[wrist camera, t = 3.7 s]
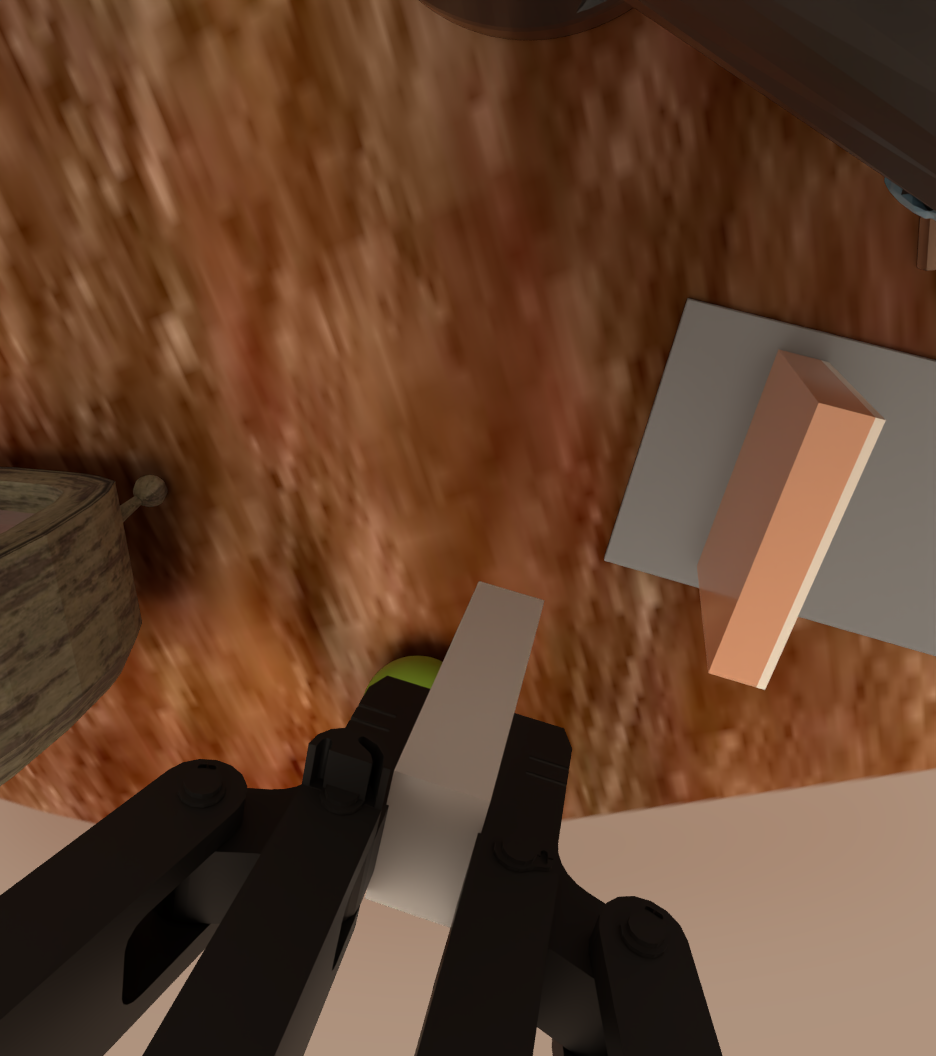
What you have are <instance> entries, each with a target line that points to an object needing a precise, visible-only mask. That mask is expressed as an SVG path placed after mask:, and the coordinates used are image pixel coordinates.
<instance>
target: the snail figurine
mask: <svg viewBox="0 0 936 1056" xmlns="http://www.w3.org/2000/svg"><path fill="white" fill-rule="evenodd" d="M442 663H443V662H442V661H440V660H437V659H435V658H432V657H427V656H407V657H403V658H399V659H397V660H394V661H392V662H391V663H389V664H387V665H386V666H384V667H383V668H382V669H381V670H380V671H379V672H377V674H376V675H375V676H374V677H373V678H372V680H371V681H370V683H369V685H368V687H369V686H371V685H373V684H374V683H376V682H377V681H379V680H381V679H382V678H384V677H386V676H387V675H388V676H391V677H394V678H397V679H401V680H404V681H407V682H410V683H413V684H417V685H420V686H423V687H426V688H429V689H431V687H432V685H433V683H434V681H435V678H436V676H437V674H438V672H439V669H440V667H441V665H442ZM368 687H367V689H368ZM367 689H366V691H367ZM366 691H365V693H366Z"/></svg>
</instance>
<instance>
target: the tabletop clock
mask: <svg viewBox="0 0 936 1056" xmlns="http://www.w3.org/2000/svg"><path fill="white" fill-rule="evenodd" d="M167 492H168V491H167V486H166V484H165V482H164V481H163V480H162V479H161V478H160V477H158V476H155V475H146V476H143V477H140V478H139V479H138V480H137V481H136V483H135V486H134V488H133V495H134V497H132V498H131V499H129V500H128V501H126V502H125V503H123V504H122V505H120V504H119V499H118V494H117V488H116V483H115V481H114V480H110V479H107V478H104V477H100V476H96V475H90V474H84V473H74V472H64V471H52V470H41V469H29V468H17V467H0V786H1V785H2V784H4V783H5V782H7V781H8V780H9V779H11V778H12V777H13V776H15V775H16V774H17V773H18V772H19V771H20V770H22V769H23V768H24V767H25V766H26V765H27V764H29V763H30V762H31V761H32V760H33V759H35V758H36V757H37V756H38V755H39V754H40V753H42V752H43V751H44V750H45V749H46V748H47V747H49V746H50V745H51V744H52V743H53V742H54V741H56V740H57V739H58V738H59V737H60V736H62V735H63V734H64V733H65V732H66V731H67V730H69V729H70V728H71V727H72V726H73V725H74V724H75V723H76V722H77V721H78V720H79V718H80V717H81V716H82V715H83V714H84V713H85V712H86V711H87V710H88V709H89V708H90V707H91V706H92V705H93V704H94V703H95V702H96V701H97V700H98V699H99V698H100V697H101V696H102V695H103V694H104V693H105V692H106V691H107V690H108V689H109V688H110V687H111V686H112V684H113V683H114V682H115V681H116V679H117V678H118V676H119V675H120V674H121V672H122V670H123V667H124V665H125V663H126V661H127V658H128V656H129V654H130V652H131V649H132V647H133V645H134V643H135V640H136V638H137V635H138V633H139V630H140V627H141V624H142V620H141V615H140V609H139V604H138V599H137V594H136V588H135V583H134V578H133V573H132V567H131V562H130V557H129V552H128V546H127V541H126V536H125V530H124V525H123V522H124V521H125V520H126V519H127V518H128V517H129V516H130V515H131V514H132V513H133V512H134V511H135V510H136V509H137V508H138V507H139V506H140V505H143V506H146V507H154V506H158V505H160V504H161V503H162V502H163V501H164V499H165V497H166V495H167Z"/></svg>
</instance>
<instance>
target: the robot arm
mask: <svg viewBox="0 0 936 1056" xmlns="http://www.w3.org/2000/svg"><path fill="white" fill-rule="evenodd" d="M419 1H420V2H422V3H423V4H424V5H426V6H427V7H428V8H430V9H431V10H433V11H434V12H436V13H437V14H439V15H441V16H442V17H444V18H446V19H447V20H449V21H451V22H453V23H455V24H458V25H460V26H462V27H464V28H467V29H470V30H472V31H475V32H478V33H481V34H485V35H489V36H493V37H499V38H505V39H515V40H542V39H552V38H558V37H563V36H568V35H572V34H576V33H580V32H583V31H586V30H588V29H591V28H594V27H597V26H599V25H601V24H604V23H606V22H608V21H610V20H612V19H614V18H616V17H618V16H620V15H622V14H624V13H625V12H627V11H629V10H630V9H632V8H633V7H634V8H636V9H637V10H638V11H640V12H641V13H643V14H644V15H646V16H647V17H649V18H650V19H652V20H653V21H655V22H656V23H658V24H659V25H661V26H662V27H664V28H665V29H667V30H668V31H670V32H671V33H673V34H674V35H676V36H677V37H678V38H680V39H681V40H683V41H684V42H686V43H687V44H689V45H690V46H692V47H693V48H695V49H696V50H698V51H699V52H701V53H702V54H704V55H705V56H707V57H708V58H710V59H711V60H713V61H714V62H716V63H717V64H718V65H720V66H721V67H723V68H724V69H726V70H727V71H729V72H730V73H732V74H733V75H735V76H736V77H738V78H739V79H741V80H742V81H744V82H745V83H747V84H748V85H750V86H751V87H753V88H754V89H756V90H757V91H758V92H760V93H761V94H763V95H764V96H766V97H767V98H769V99H770V100H772V101H773V102H775V103H776V104H778V105H779V106H781V107H782V108H784V109H785V110H787V111H788V112H790V113H791V114H793V115H794V116H795V117H797V118H798V119H800V120H801V121H803V122H804V123H806V124H807V125H809V126H810V127H812V128H813V129H815V130H816V131H818V132H819V133H821V134H822V135H824V136H825V137H827V138H828V139H830V140H831V141H833V142H834V143H835V144H837V145H838V146H840V147H841V148H843V149H844V150H846V151H847V152H849V153H850V154H852V155H853V156H855V157H856V158H858V159H859V160H861V161H862V162H864V163H865V164H867V165H868V166H870V167H871V168H873V169H874V170H875V171H877V172H878V173H880V174H881V175H883V176H884V177H885V184H886V186H887V188H888V190H889V191H890V192H891V194H892V195H893V196H894V197H895V198H896V199H897V200H898V201H899V202H900V203H901V204H902V205H904V206H905V207H906V208H908V209H909V210H910V211H912V212H913V213H915V214H917V215H919V216H921V217H923V218H925V219H928V218H931V219H933V220H935V221H936V0H419ZM543 604H544V600H541V599H538V598H534V597H531V596H527V595H524V594H521V593H517V592H514V591H510V590H507V589H504V588H500V587H497V586H494V585H490V584H487V583H483V582H480V581H479V582H478V585H477V587H476V589H475V591H474V594H473V596H472V598H471V600H470V603H469V605H468V607H467V609H466V611H465V614H464V616H463V618H462V620H461V623H460V625H459V627H458V629H457V631H456V634H455V636H454V638H453V640H452V643H451V645H450V647H449V649H448V652H447V654H446V656H445V658H444V660H443V663H442V665H441V667H440V669H439V672H438V674H437V676H436V678H435V681H434V683H433V685H432V687H431V689H429V688H426V687H423V686H420V685H417V684H413V683H410V682H407V681H404V680H401V679H397V678H394V677H391V676H388V675H387V676H386V677H384V678H382V679H381V680H379V681H377V682H376V683H374V684H373V685H371V686H369V687H368V689H367V691H366V693H365V694H364V696H363V698H362V700H361V701H360V703H359V706H358V707H357V708H356V710H355V712H354V714H353V715H352V717H351V720H349V722H348V724H347V726H346V727H345V728H338V729H330V730H328V731H325V732H323V733H320V734H318V735H317V736H316V737H315V738H314V739H313V740H312V741H311V742H310V743H309V745H308V751H307V757H306V763H305V769H304V775H303V781H302V784H301V785H299V786H297V787H292V788H287V789H273V790H269V789H254V788H247V785H246V782H245V780H244V778H243V775H242V774H241V773H240V772H238V771H237V770H236V769H235V768H234V767H233V766H231V765H228V764H226V763H223V762H220V761H218V760H206V759H198V760H193V761H188V762H183V763H181V764H179V765H177V766H175V767H173V768H171V769H169V770H168V771H166V772H165V773H164V774H162V775H161V776H160V777H158V778H157V779H156V780H154V781H153V782H152V783H150V784H149V785H148V786H146V787H145V788H144V789H142V790H141V791H140V792H138V793H137V794H136V795H134V796H133V797H132V798H130V799H129V800H128V801H126V802H125V803H124V804H122V805H121V806H120V807H118V808H117V809H115V810H114V811H113V812H111V813H110V814H109V815H107V816H106V817H105V818H103V819H102V820H101V821H99V822H98V823H97V824H95V825H94V826H93V827H91V828H90V829H89V830H87V831H86V832H85V833H83V834H82V835H81V836H79V837H78V838H77V839H75V840H74V841H73V842H71V843H70V844H69V845H67V846H66V847H65V848H63V849H62V850H61V851H59V852H58V853H57V854H55V855H54V856H53V857H51V858H50V859H48V860H47V861H46V862H44V863H43V864H42V865H40V866H39V867H38V868H36V869H35V870H34V871H33V872H31V873H30V874H28V875H27V876H26V877H24V878H23V879H22V880H20V881H19V882H18V883H16V884H15V885H14V886H12V887H11V888H10V889H8V890H7V891H6V892H4V893H3V894H2V895H0V1056H103V1055H104V1054H105V1053H106V1052H107V1051H108V1050H109V1049H110V1048H111V1047H112V1046H113V1045H114V1044H115V1043H116V1042H117V1041H118V1040H119V1039H120V1038H121V1036H122V1035H123V1034H124V1033H125V1032H126V1031H127V1030H128V1029H129V1028H130V1027H131V1026H132V1025H133V1024H134V1023H135V1022H136V1021H137V1020H138V1019H139V1018H140V1017H141V1015H142V1014H143V1013H144V1012H145V1011H146V1010H147V1009H148V1008H149V1007H150V1006H151V1005H152V1004H153V1003H154V1002H155V1001H156V1000H157V999H158V997H159V996H160V995H161V994H162V993H163V992H164V991H165V990H166V989H167V988H168V987H169V986H170V985H171V984H172V983H173V981H175V980H176V979H177V977H179V975H180V974H181V973H182V972H183V971H184V970H185V969H186V968H187V967H188V966H189V965H190V964H191V963H192V962H193V961H194V960H195V959H196V958H197V957H198V955H199V954H200V953H201V952H202V951H203V950H204V949H205V950H204V952H203V953H202V955H201V957H200V959H199V960H198V962H197V964H196V965H195V967H194V969H193V970H192V972H191V974H190V975H189V977H188V979H187V981H186V982H185V984H184V986H183V987H182V989H181V991H180V992H179V994H178V996H177V998H176V999H175V1001H174V1003H173V1004H172V1007H171V1008H170V1009H169V1011H168V1013H167V1015H166V1016H165V1018H164V1020H163V1021H162V1023H161V1025H160V1027H159V1028H158V1030H157V1032H156V1033H155V1035H154V1037H153V1038H152V1040H151V1042H150V1043H149V1045H148V1047H147V1049H146V1050H145V1052H144V1054H143V1055H142V1056H303V1055H304V1053H305V1050H306V1048H307V1045H308V1043H309V1040H310V1038H311V1035H312V1033H313V1030H314V1028H315V1025H316V1023H317V1021H318V1018H319V1015H320V1013H321V1011H322V1008H323V1005H324V1003H325V1001H326V998H327V996H328V993H329V991H330V988H331V986H332V983H333V981H334V978H335V976H336V973H337V971H338V968H339V966H340V963H341V961H342V958H343V956H344V953H345V951H346V948H347V946H348V943H349V941H350V939H351V936H352V934H353V931H354V928H355V925H356V920H357V917H358V912H359V907H360V904H361V901H362V899H363V897H364V894H365V892H366V889H367V892H366V897H365V898H366V899H368V900H371V901H374V902H377V903H380V904H382V905H386V906H388V907H391V908H394V909H397V910H400V911H403V912H406V913H409V914H412V915H415V916H418V917H420V918H424V919H426V920H429V921H432V922H435V923H438V924H441V925H444V926H447V927H450V932H449V935H448V939H447V942H446V945H445V949H444V952H443V955H442V959H441V962H440V966H439V969H438V972H437V976H436V979H435V983H434V986H433V991H432V995H431V998H430V1002H429V1005H428V1009H427V1012H426V1016H425V1020H424V1023H423V1027H422V1030H421V1034H420V1037H419V1041H418V1045H417V1048H416V1052H415V1055H414V1056H533V1049H534V1042H535V1035H536V1028H537V1027H538V1028H539V1029H541V1030H542V1031H543V1032H545V1033H546V1034H547V1035H549V1036H550V1037H551V1038H552V1053H553V1056H722V1052H721V1049H720V1046H719V1042H718V1039H717V1036H716V1033H715V1030H714V1026H713V1023H712V1020H711V1016H710V1013H709V1009H708V1006H707V1003H706V999H705V996H704V993H703V990H702V986H701V983H700V980H699V977H698V973H697V970H696V966H695V963H694V960H693V957H692V953H691V950H690V947H689V943H688V940H687V938H686V937H685V934H684V932H683V930H682V928H681V926H680V925H679V924H678V922H677V921H676V920H675V919H674V918H673V917H672V916H671V915H670V914H669V913H668V912H667V911H666V910H664V909H663V908H661V907H659V906H658V905H656V904H655V903H653V902H651V901H649V900H645V899H641V898H638V897H635V896H626V897H617V898H615V899H613V900H611V901H609V902H607V903H606V904H605V903H603V902H602V901H600V900H599V899H597V898H596V897H594V896H592V895H591V894H589V893H588V892H586V891H585V890H584V889H583V888H581V887H580V886H579V885H577V884H576V883H575V881H574V880H573V879H572V878H571V877H570V876H569V875H568V874H567V872H566V870H565V869H564V867H563V865H562V863H561V860H560V857H559V854H558V840H559V833H560V827H561V820H562V813H563V806H564V800H565V793H566V785H567V779H568V773H569V772H568V770H569V766H570V759H571V752H572V747H571V745H570V742H569V740H568V737H567V735H566V732H565V730H564V728H561V727H558V726H554V725H551V724H548V723H545V722H542V721H538V720H535V719H532V718H529V717H525V716H522V715H519V714H516V713H514V712H515V708H516V704H517V700H518V697H519V693H520V689H521V686H522V682H523V678H524V674H525V671H526V667H527V663H528V659H529V656H530V652H531V648H532V645H533V641H534V637H535V633H536V630H537V626H538V622H539V619H540V615H541V611H542V607H543Z"/></svg>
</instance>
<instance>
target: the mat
mask: <svg viewBox="0 0 936 1056" xmlns="http://www.w3.org/2000/svg"><path fill="white" fill-rule="evenodd" d="M778 349H779V350H783V351H787V352H791V353H795V354H799V355H803V356H807V357H811V358H814V359H818V360H822V361H826V362H829V363H830V364H831V365H832V366H833V367H834V368H835V369H836V370H837V371H838V372H839V373H840V374H841V375H842V376H843V377H844V378H845V379H846V380H847V381H848V382H849V383H850V384H851V385H852V386H853V387H854V388H855V389H856V390H857V391H858V392H859V393H860V394H861V395H862V396H863V398H864V399H865V400H866V401H867V402H868V403H869V404H870V405H871V406H872V407H873V408H874V409H875V410H876V411H877V412H878V413H879V414H880V415H881V416H882V417H883V418H884V419H885V420H886V421H885V423H884V425H883V428H882V430H881V432H880V434H879V437H878V439H877V441H876V443H875V445H874V448H873V450H872V452H871V454H870V457H869V459H868V461H867V463H866V466H865V468H864V470H863V472H862V474H861V477H860V479H859V481H858V483H857V486H856V488H855V490H854V492H853V495H852V497H851V499H850V501H849V503H848V506H847V508H846V510H845V512H844V515H843V517H842V519H841V521H840V524H839V526H838V528H837V530H836V532H835V535H834V537H833V539H832V541H831V544H830V546H829V548H828V550H827V553H826V555H825V557H824V559H823V561H822V564H821V566H820V568H819V570H818V573H817V575H816V577H815V579H814V581H813V584H812V586H811V588H810V590H809V593H808V595H807V597H806V599H805V602H804V604H803V606H802V608H801V610H800V613H799V615H798V617H802V618H805V619H809V620H812V621H815V622H819V623H822V624H826V625H829V626H833V627H836V628H840V629H843V630H847V631H850V632H854V633H857V634H861V635H864V636H868V637H871V638H874V639H878V640H881V641H885V642H888V643H892V644H895V645H899V646H902V647H906V648H909V649H913V650H916V651H920V652H923V653H926V654H930V655H933V656H936V360H933V359H930V358H926V357H922V356H918V355H914V354H910V353H906V352H902V351H898V350H894V349H890V348H886V347H882V346H878V345H874V344H870V343H866V342H862V341H858V340H854V339H850V338H846V337H842V336H838V335H834V334H830V333H826V332H822V331H818V330H814V329H810V328H806V327H802V326H798V325H794V324H790V323H786V322H782V321H778V320H774V319H770V318H766V317H762V316H758V315H754V314H751V313H747V312H743V311H739V310H735V309H731V308H727V307H723V306H719V305H715V304H711V303H707V302H703V301H699V300H695V299H691V298H687V301H686V304H685V307H684V310H683V314H682V317H681V320H680V323H679V326H678V329H677V332H676V335H675V338H674V342H673V345H672V348H671V351H670V354H669V357H668V360H667V363H666V366H665V370H664V373H663V376H662V379H661V382H660V385H659V388H658V391H657V395H656V398H655V401H654V404H653V407H652V410H651V413H650V416H649V419H648V423H647V426H646V429H645V432H644V435H643V438H642V441H641V444H640V447H639V451H638V454H637V457H636V460H635V463H634V466H633V469H632V472H631V475H630V479H629V482H628V485H627V488H626V491H625V494H624V497H623V500H622V504H621V507H620V510H619V513H618V516H617V519H616V522H615V525H614V528H613V532H612V535H611V538H610V541H609V544H608V547H607V550H606V553H605V558H604V561H607V562H611V563H614V564H618V565H621V566H625V567H628V568H632V569H635V570H639V571H642V572H646V573H649V574H652V575H656V576H659V577H663V578H666V579H670V580H673V581H677V582H680V583H684V584H687V585H691V586H694V587H698V588H699V581H698V572H697V565H698V562H699V559H700V557H701V554H702V551H703V549H704V546H705V543H706V541H707V538H708V535H709V533H710V530H711V527H712V525H713V522H714V519H715V517H716V514H717V511H718V509H719V506H720V503H721V501H722V498H723V495H724V493H725V490H726V488H727V485H728V482H729V480H730V477H731V474H732V472H733V469H734V466H735V464H736V461H737V458H738V456H739V453H740V450H741V448H742V445H743V442H744V440H745V437H746V434H747V432H748V429H749V426H750V424H751V421H752V418H753V416H754V413H755V411H756V408H757V405H758V403H759V400H760V397H761V395H762V392H763V389H764V387H765V384H766V381H767V379H768V376H769V373H770V371H771V368H772V365H773V363H774V360H775V357H776V355H777V352H778Z"/></svg>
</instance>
